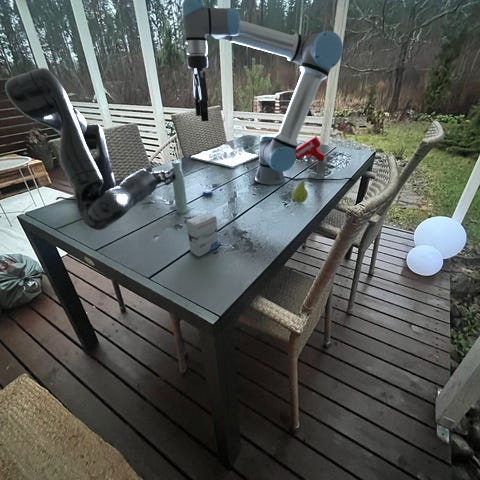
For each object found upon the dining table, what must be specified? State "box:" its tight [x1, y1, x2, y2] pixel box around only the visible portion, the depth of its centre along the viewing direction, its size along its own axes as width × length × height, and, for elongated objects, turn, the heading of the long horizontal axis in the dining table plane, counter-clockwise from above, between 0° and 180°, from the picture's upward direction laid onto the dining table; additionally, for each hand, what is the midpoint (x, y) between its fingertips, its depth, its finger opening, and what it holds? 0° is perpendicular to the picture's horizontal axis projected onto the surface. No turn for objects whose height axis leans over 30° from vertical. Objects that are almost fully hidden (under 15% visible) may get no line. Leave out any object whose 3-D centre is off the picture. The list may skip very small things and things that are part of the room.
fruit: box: [291, 174, 311, 204], centre depth 118 cm, size 7×8×12 cm
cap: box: [202, 188, 213, 198], centre depth 128 cm, size 4×4×2 cm
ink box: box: [185, 211, 219, 258], centre depth 87 cm, size 8×5×12 cm, turn 134°
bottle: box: [171, 160, 189, 215], centre depth 109 cm, size 5×5×21 cm
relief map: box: [190, 143, 259, 169], centre depth 179 cm, size 27×35×5 cm
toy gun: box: [295, 135, 326, 164], centre depth 171 cm, size 18×4×15 cm
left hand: (162, 169), depth 94 cm, fingers open, 8 cm apart
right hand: (202, 118), depth 111 cm, fingers open, 13 cm apart
